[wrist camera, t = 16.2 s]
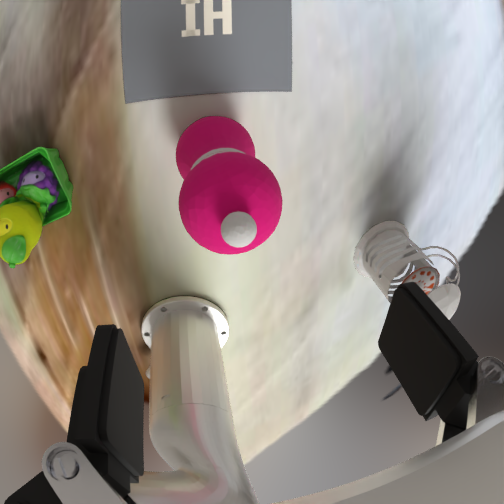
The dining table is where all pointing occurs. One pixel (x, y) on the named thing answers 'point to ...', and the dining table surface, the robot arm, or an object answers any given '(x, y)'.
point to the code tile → (205, 47)
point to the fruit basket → (31, 201)
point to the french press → (403, 265)
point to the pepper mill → (225, 187)
